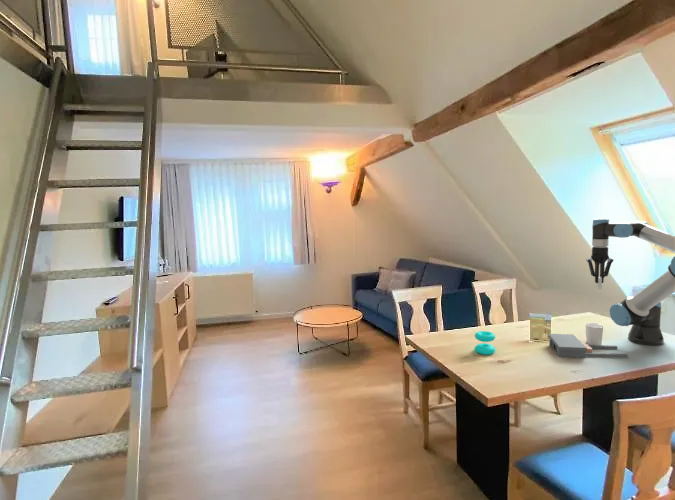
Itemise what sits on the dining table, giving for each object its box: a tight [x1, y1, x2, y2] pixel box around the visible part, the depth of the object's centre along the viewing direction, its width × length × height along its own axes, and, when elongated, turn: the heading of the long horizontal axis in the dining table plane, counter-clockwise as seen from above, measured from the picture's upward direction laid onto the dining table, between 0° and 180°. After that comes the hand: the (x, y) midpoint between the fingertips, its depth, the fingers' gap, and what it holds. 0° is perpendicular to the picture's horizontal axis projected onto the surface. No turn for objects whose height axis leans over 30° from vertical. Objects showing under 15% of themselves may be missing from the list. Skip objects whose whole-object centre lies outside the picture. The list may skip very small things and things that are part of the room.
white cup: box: [585, 322, 604, 345], centre depth 218 cm, size 8×8×10 cm
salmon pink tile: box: [581, 342, 593, 353], centre depth 209 cm, size 14×8×3 cm, turn 77°
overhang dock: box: [548, 333, 629, 359], centre depth 207 cm, size 31×20×6 cm, turn 77°
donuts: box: [474, 330, 496, 356], centre depth 214 cm, size 10×10×10 cm
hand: (598, 288), depth 228 cm, fingers closed
